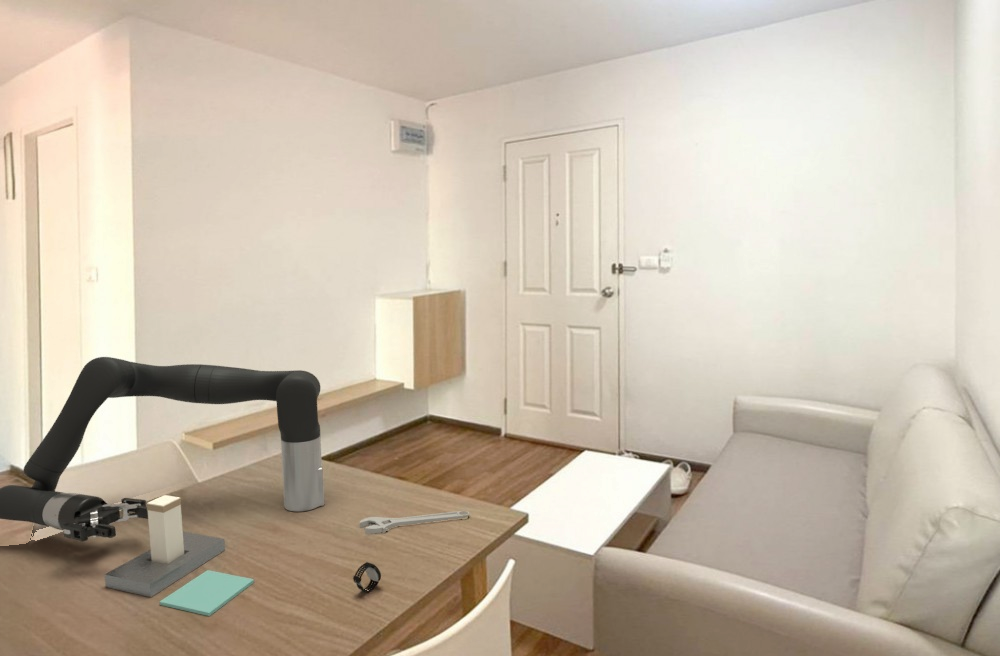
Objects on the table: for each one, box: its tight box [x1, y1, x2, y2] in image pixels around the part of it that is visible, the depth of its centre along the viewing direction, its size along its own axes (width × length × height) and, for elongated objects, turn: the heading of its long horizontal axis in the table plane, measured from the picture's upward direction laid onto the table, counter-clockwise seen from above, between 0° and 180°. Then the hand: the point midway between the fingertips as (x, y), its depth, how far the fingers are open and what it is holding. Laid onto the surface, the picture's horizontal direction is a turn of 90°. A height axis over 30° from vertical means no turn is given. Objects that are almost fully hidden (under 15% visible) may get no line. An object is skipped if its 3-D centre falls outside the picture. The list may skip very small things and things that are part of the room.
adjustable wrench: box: [359, 510, 470, 535], centre depth 135 cm, size 25×6×2 cm, turn 100°
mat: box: [159, 569, 255, 617], centre depth 107 cm, size 11×11×1 cm
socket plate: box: [104, 531, 226, 598], centre depth 116 cm, size 18×11×2 cm, turn 162°
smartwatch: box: [352, 561, 382, 594], centre depth 108 cm, size 4×5×5 cm
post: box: [146, 494, 184, 564], centre depth 116 cm, size 4×4×14 cm
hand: (133, 522), depth 118 cm, fingers open, 8 cm apart
